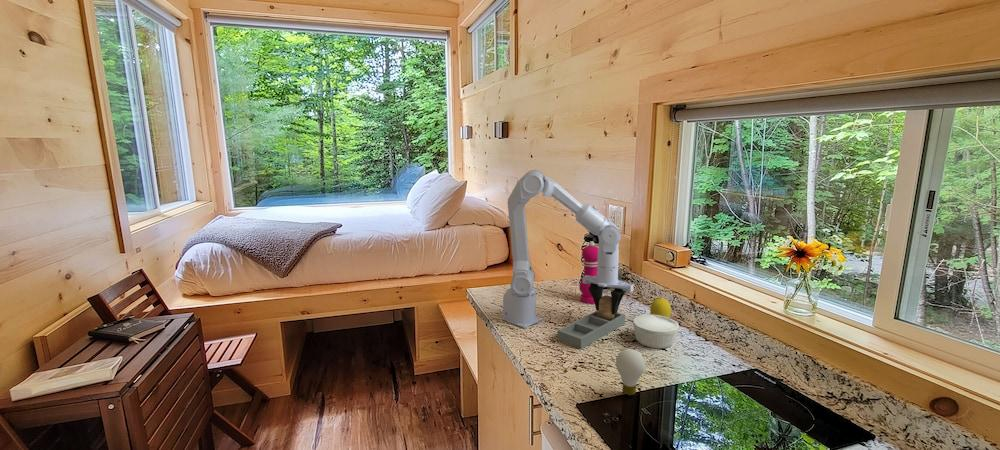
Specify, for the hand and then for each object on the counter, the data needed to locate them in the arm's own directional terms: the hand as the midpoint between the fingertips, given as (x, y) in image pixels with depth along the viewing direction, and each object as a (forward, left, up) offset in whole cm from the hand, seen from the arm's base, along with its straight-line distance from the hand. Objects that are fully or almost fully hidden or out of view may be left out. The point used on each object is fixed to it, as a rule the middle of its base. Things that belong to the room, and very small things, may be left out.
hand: (606, 311), depth 129 cm
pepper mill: (-14, +13, -4) cm, 19 cm away
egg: (0, 0, -2) cm, 2 cm away
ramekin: (+15, 0, -4) cm, 16 cm away
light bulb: (+23, -27, -4) cm, 36 cm away
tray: (0, -7, -4) cm, 8 cm away
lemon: (+11, +11, -4) cm, 16 cm away
